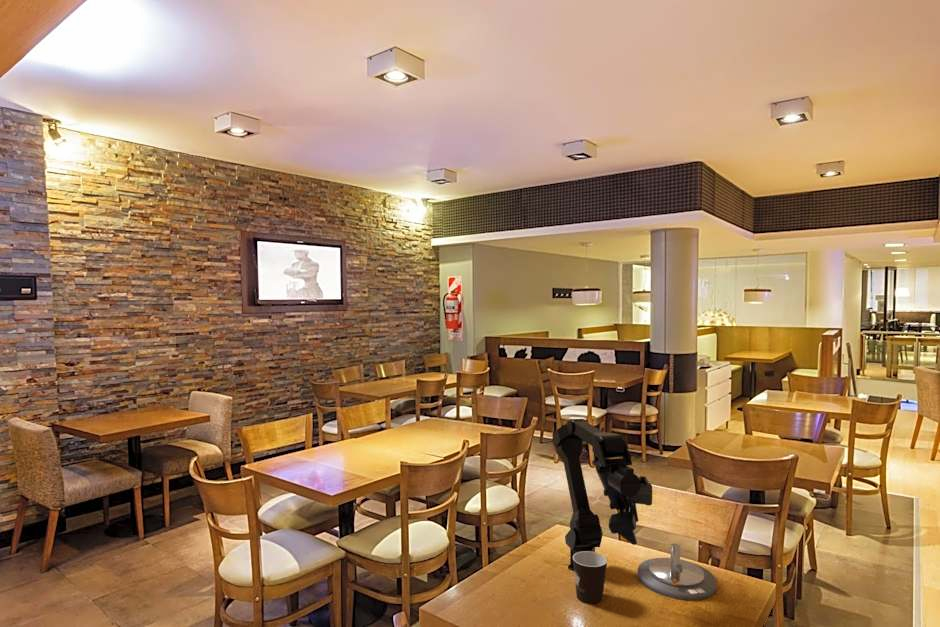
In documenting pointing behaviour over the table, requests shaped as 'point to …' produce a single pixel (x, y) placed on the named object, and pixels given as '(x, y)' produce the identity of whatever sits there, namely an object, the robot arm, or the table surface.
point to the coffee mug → (589, 576)
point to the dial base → (673, 591)
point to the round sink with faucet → (676, 570)
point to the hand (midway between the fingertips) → (635, 532)
